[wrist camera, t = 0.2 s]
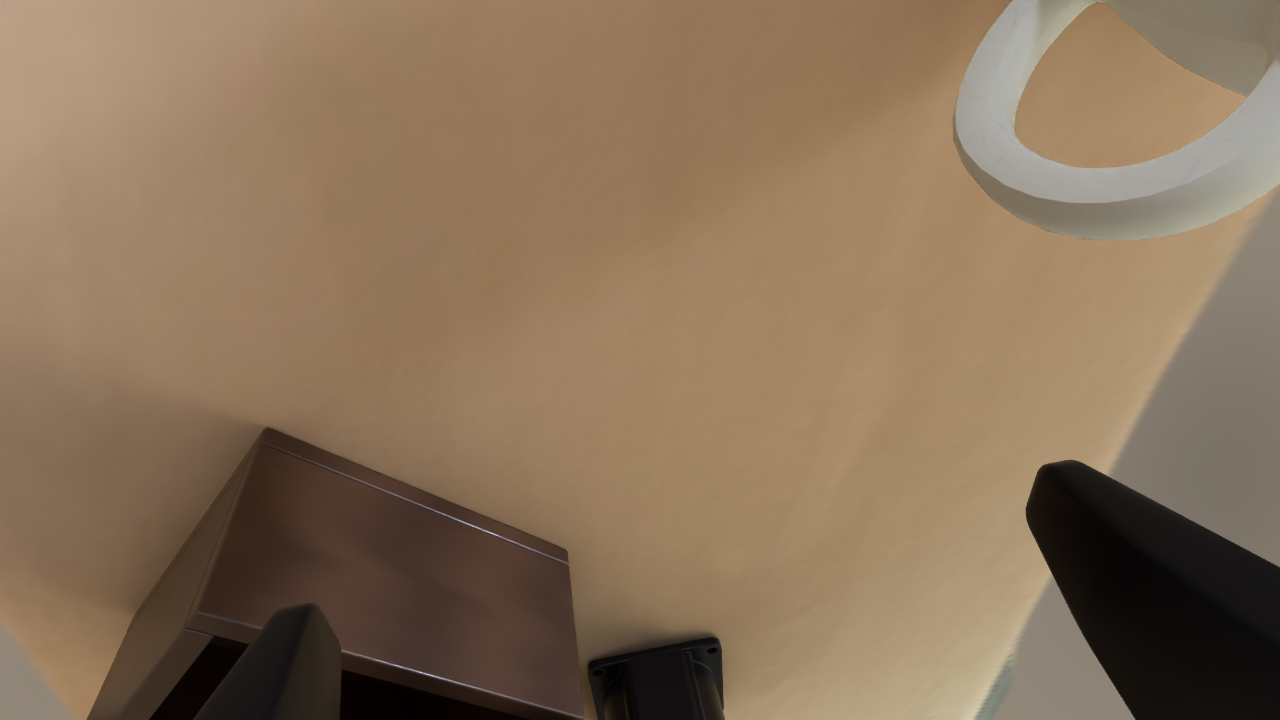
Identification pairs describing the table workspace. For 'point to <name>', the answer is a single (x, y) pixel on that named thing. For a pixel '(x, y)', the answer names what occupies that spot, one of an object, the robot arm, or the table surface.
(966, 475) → the table surface
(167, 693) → the chest
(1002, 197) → the pitcher
